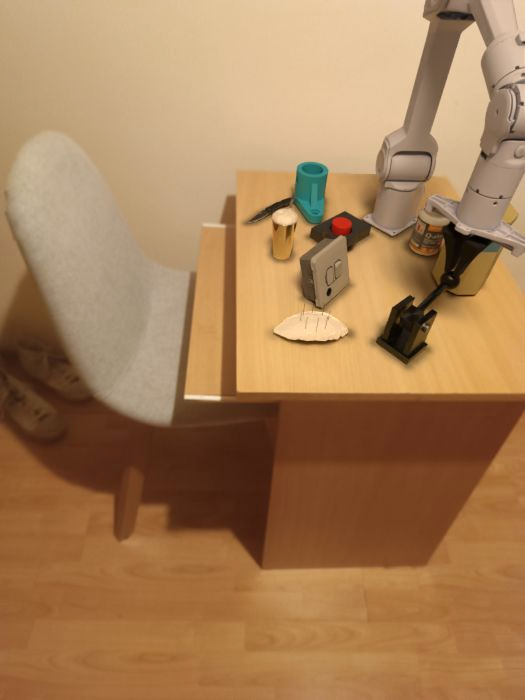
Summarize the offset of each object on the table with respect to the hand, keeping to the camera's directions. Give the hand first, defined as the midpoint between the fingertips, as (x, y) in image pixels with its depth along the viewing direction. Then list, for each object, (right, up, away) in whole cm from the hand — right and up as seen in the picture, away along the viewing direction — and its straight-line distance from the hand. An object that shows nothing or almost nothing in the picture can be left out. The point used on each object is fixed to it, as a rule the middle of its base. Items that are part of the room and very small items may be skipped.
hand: (453, 272), depth 69 cm
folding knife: (-26, +17, +27) cm, 41 cm away
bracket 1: (-18, +19, +30) cm, 39 cm away
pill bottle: (+3, +8, +22) cm, 23 cm away
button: (-14, +11, +18) cm, 25 cm away
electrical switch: (-18, -1, +12) cm, 22 cm away
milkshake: (-25, +6, +18) cm, 32 cm away
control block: (-13, +10, +22) cm, 28 cm away
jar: (+7, +1, +15) cm, 17 cm away
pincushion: (-21, -9, +5) cm, 23 cm away
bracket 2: (-7, -11, +4) cm, 13 cm away
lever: (-3, -5, +1) cm, 6 cm away
